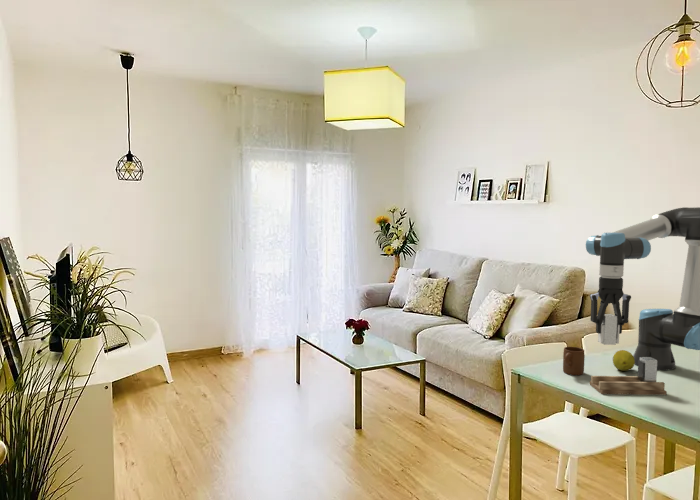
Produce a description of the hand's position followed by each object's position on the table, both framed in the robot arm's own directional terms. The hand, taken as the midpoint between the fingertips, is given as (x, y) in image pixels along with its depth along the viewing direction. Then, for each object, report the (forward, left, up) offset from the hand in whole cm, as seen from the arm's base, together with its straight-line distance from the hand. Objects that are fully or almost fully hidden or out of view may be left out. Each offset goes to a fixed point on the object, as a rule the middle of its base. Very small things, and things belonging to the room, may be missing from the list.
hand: (608, 342), depth 185 cm
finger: (-14, 0, -16) cm, 21 cm away
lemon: (-16, -22, -17) cm, 32 cm away
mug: (+6, -17, -17) cm, 25 cm away
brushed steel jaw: (0, 0, 0) cm, 0 cm away
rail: (-7, 0, -17) cm, 18 cm away
